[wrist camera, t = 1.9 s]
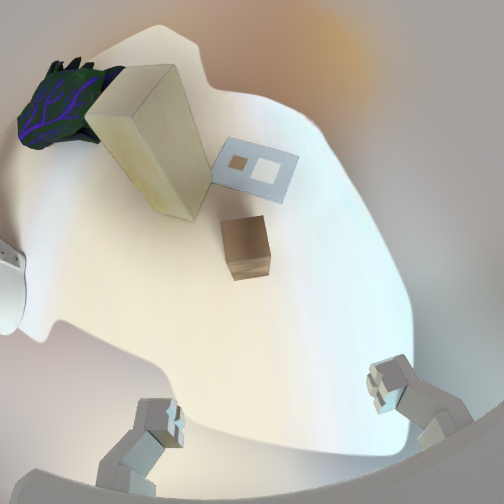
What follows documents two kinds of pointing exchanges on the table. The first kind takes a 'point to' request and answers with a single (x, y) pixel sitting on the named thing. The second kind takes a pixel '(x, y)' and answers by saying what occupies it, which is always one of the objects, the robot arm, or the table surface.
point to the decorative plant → (64, 104)
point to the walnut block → (246, 247)
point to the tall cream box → (154, 138)
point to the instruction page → (254, 169)
